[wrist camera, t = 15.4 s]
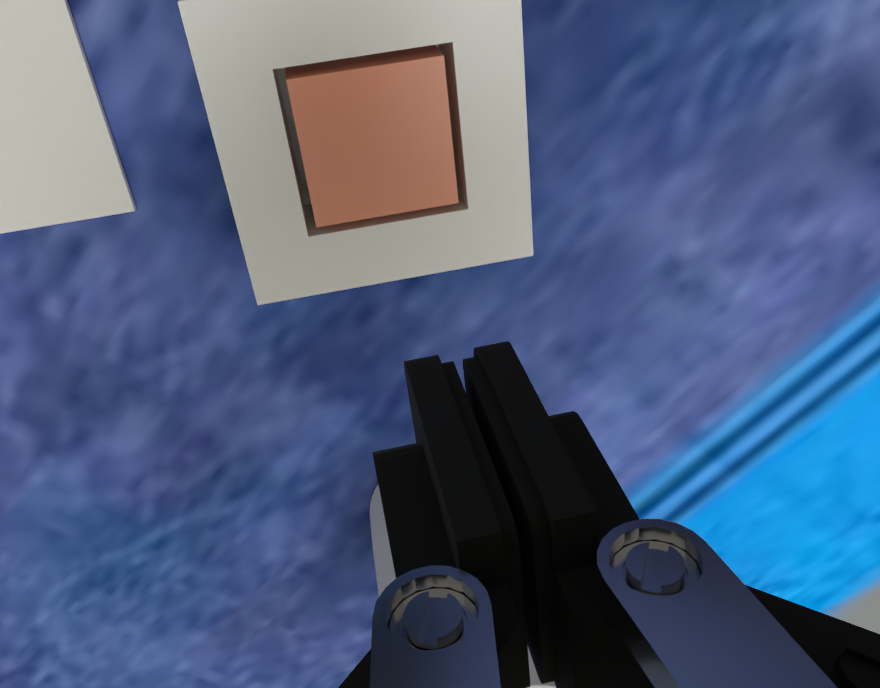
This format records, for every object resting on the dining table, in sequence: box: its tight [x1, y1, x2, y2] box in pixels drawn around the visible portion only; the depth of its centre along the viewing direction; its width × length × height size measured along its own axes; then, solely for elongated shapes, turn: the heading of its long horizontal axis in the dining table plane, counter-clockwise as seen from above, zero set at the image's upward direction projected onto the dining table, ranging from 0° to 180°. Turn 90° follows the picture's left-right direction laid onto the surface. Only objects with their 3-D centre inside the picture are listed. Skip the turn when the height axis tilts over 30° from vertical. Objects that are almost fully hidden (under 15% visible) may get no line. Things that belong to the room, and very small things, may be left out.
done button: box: [285, 45, 459, 228], centre depth 24 cm, size 4×4×2 cm
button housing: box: [177, 0, 533, 305], centre depth 25 cm, size 9×9×4 cm
